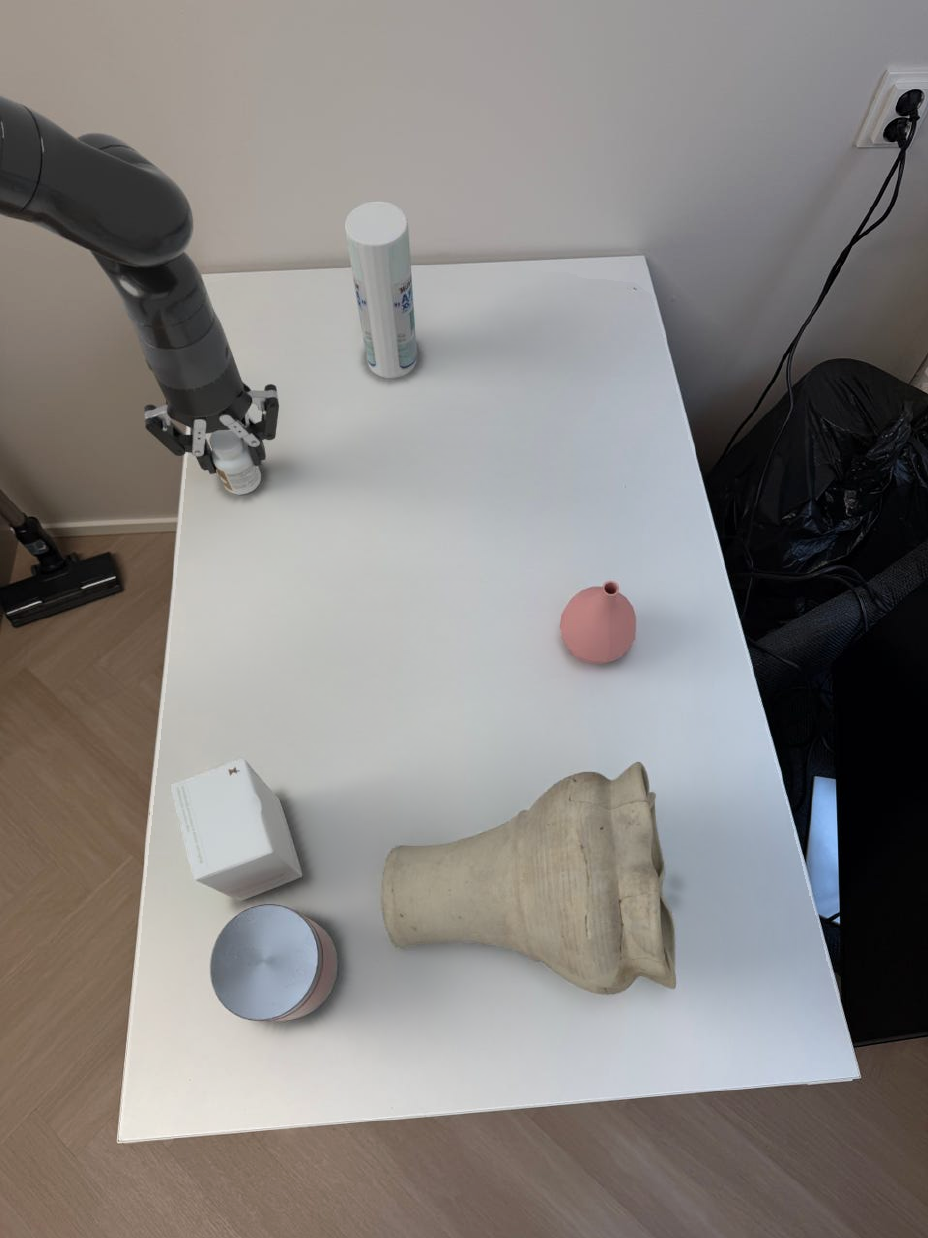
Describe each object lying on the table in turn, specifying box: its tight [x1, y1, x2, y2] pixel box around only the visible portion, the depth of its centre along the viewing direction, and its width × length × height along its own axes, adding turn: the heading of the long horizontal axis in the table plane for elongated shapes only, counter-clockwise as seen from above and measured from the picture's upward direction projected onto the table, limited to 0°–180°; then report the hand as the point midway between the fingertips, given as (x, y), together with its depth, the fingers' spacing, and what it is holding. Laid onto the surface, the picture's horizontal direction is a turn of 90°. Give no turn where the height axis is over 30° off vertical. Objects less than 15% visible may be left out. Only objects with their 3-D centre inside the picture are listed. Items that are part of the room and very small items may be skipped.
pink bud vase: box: [559, 580, 637, 665], centre depth 83 cm, size 8×8×12 cm
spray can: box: [344, 200, 418, 379], centre depth 95 cm, size 6×6×20 cm
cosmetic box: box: [169, 756, 303, 902], centre depth 72 cm, size 8×7×16 cm
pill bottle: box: [209, 430, 262, 495], centre depth 93 cm, size 4×4×8 cm
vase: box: [380, 761, 677, 996], centre depth 71 cm, size 22×22×28 cm
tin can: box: [209, 903, 339, 1022], centre depth 70 cm, size 8×8×11 cm
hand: (235, 462), depth 94 cm, fingers closed on pill bottle, 4 cm apart
